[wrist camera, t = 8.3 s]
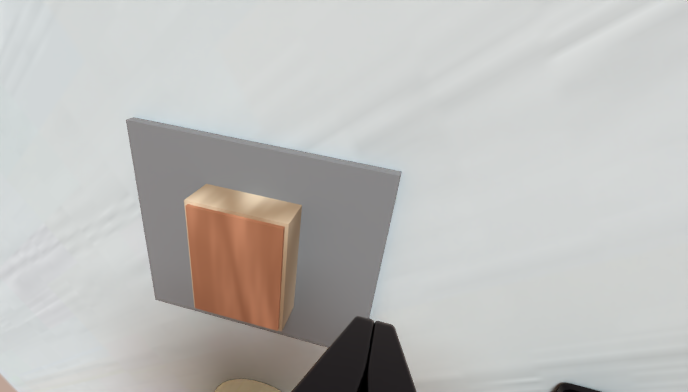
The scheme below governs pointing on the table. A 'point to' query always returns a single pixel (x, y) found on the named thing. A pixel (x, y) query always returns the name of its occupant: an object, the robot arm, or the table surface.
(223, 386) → the reusable coffee cup
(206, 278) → the maple tile
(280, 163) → the slate mat
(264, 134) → the table surface
